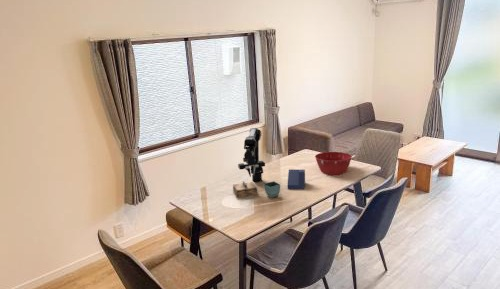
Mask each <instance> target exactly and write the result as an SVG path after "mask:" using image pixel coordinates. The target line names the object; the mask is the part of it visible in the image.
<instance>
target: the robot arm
mask: <svg viewBox="0 0 500 289" xmlns="http://www.w3.org/2000/svg"><path fill="white" fill-rule="evenodd" d="M261 137H262V131H261V129H259V128H257V127H251V128H250V129H249V134H248V136H246V137H245V139H244V143H243V145H244V146H243V149H244V150H245V152H244V154H243V158H242V161H243V162H242V163H241V162H240V163H238V164H237V167H238V169H239V170H246V171H247V173H248V176H249V177H250V178H252V182H253V183H259V182H263V178H262V177H263V176H262V174H264V168H263V167H266V162H265V161H264V160H260V140H261ZM245 163H246V164H245ZM251 176H252V177H251Z"/></svg>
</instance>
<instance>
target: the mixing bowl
mask: <svg viewBox="0 0 500 289" xmlns="http://www.w3.org/2000/svg"><path fill="white" fill-rule="evenodd" d="M352 157H353V156H352V155H351V154H350V153H346V152H341V151H326V152H321V153H317V154H316V155H315V156H314V158H315V160H316V163H317V164H316V165H317V166H318V168H319V170H320V172H321V173H322V174H324V175H327V174H328V175H327V176H340V174H341V175H342V174H343V173H344V174H345V173H346V172H347V170H348V169H349V166H350V164H351V159H352Z"/></svg>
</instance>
